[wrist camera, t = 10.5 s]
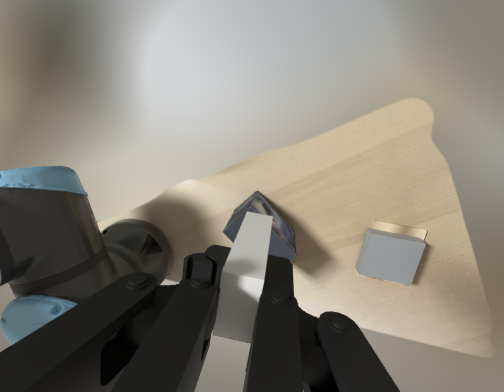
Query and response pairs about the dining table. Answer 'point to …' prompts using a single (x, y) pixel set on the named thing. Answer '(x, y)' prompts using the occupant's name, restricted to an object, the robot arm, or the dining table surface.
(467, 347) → the dining table surface
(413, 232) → the cork mat
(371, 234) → the grey square slab
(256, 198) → the small box
